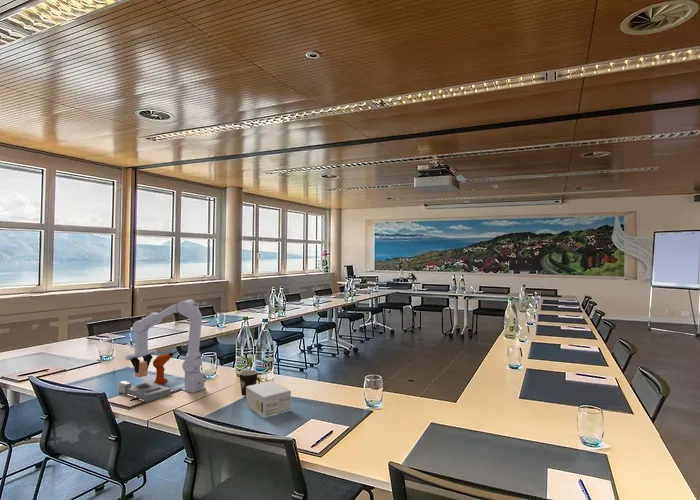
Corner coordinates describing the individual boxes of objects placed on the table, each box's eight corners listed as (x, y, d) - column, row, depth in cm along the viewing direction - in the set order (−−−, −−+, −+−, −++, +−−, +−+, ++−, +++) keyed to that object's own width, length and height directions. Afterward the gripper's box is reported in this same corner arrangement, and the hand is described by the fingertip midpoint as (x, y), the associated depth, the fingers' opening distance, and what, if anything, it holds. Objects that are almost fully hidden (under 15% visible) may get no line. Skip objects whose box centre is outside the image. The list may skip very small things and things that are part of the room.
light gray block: (130, 393, 198) (130, 383, 198) (125, 394, 196) (125, 384, 196) (124, 390, 202) (124, 380, 202) (119, 392, 199) (119, 382, 199)
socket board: (170, 394, 196) (170, 388, 196) (146, 402, 186) (146, 395, 186) (150, 387, 206) (150, 381, 206) (125, 394, 196) (125, 388, 196)
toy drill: (183, 372, 227) (180, 346, 225) (159, 387, 209) (157, 359, 207) (175, 371, 228) (173, 345, 226) (151, 386, 210) (149, 358, 208)
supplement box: (245, 407, 181) (245, 386, 181) (272, 400, 189) (272, 380, 189) (263, 419, 168) (263, 396, 168) (291, 411, 176) (291, 389, 176)
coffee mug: (237, 392, 200) (237, 371, 200) (255, 389, 204) (255, 369, 204) (242, 399, 190) (242, 378, 190) (261, 396, 194) (261, 375, 194)
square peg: (147, 375, 206) (147, 361, 206) (139, 377, 203) (139, 363, 203) (143, 374, 208) (142, 360, 208) (135, 376, 205) (135, 362, 205)
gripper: (151, 340, 214) (151, 366, 214) (122, 345, 202) (122, 373, 202) (158, 342, 210) (158, 368, 210) (129, 347, 198) (129, 376, 198)
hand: (141, 371), depth 205 cm, fingers closed on square peg, 4 cm apart
